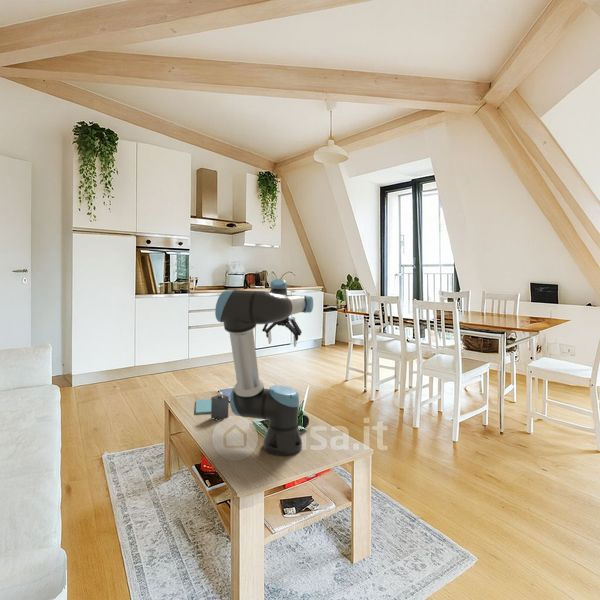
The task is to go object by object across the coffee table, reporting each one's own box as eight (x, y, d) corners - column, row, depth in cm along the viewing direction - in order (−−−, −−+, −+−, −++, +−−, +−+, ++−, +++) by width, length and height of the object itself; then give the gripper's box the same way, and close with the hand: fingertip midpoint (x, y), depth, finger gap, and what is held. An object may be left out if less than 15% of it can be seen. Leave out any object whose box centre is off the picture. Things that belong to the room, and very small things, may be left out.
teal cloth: (221, 412, 180) (221, 410, 180) (195, 414, 177) (195, 412, 176) (219, 400, 197) (219, 398, 197) (196, 401, 194) (196, 399, 194)
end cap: (309, 429, 164) (309, 414, 164) (295, 432, 160) (296, 417, 160) (296, 421, 173) (297, 407, 172) (283, 424, 169) (284, 409, 168)
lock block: (218, 421, 170) (218, 395, 169) (211, 418, 173) (211, 393, 172) (228, 417, 174) (228, 392, 174) (221, 414, 177) (221, 390, 177)
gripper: (306, 307, 183) (307, 341, 194) (258, 302, 188) (262, 336, 199) (303, 315, 177) (304, 350, 187) (253, 310, 182) (257, 345, 193)
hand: (282, 343), depth 193 cm, fingers open, 13 cm apart
